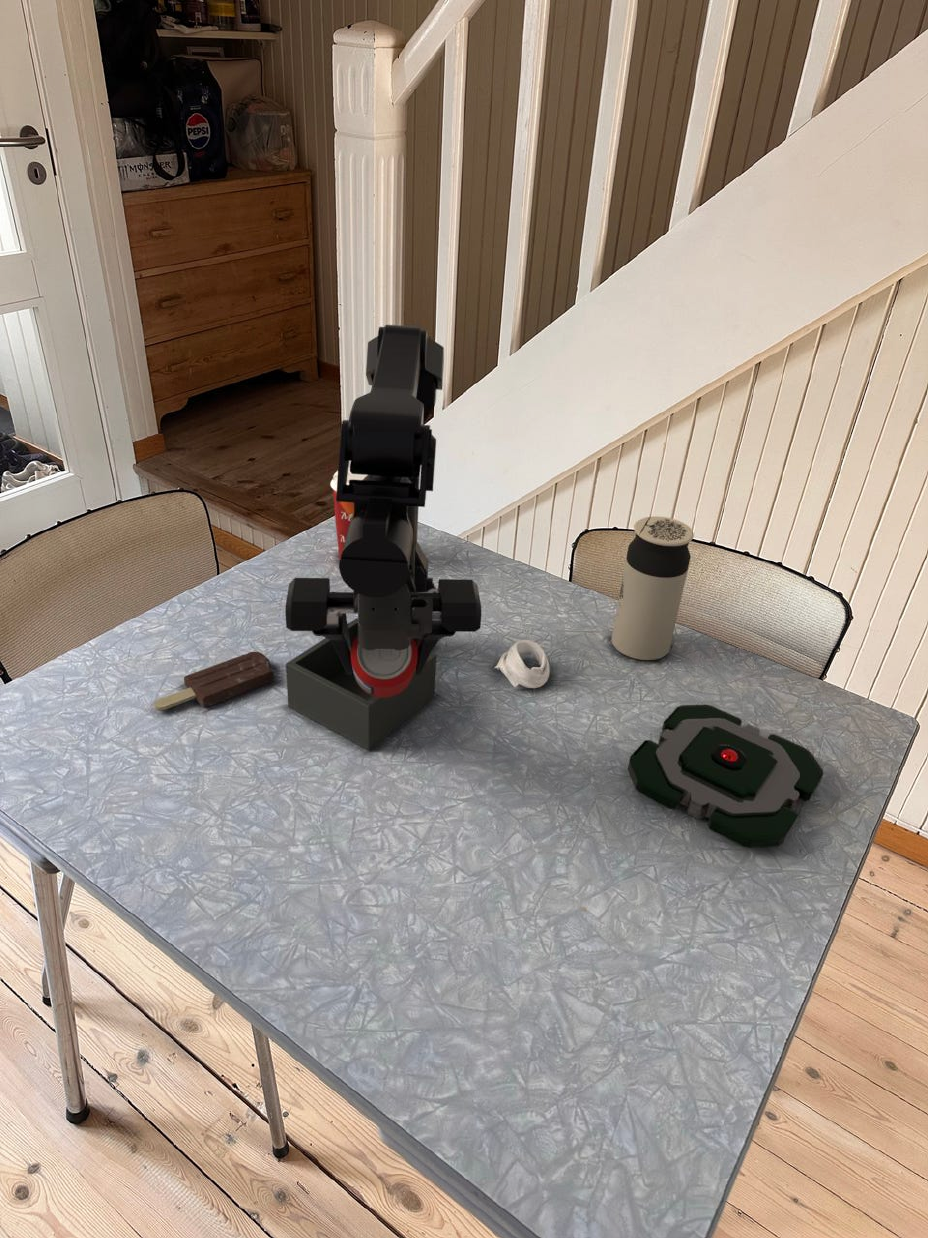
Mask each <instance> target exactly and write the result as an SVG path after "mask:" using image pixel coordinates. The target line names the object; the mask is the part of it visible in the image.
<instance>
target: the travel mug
mask: <svg viewBox="0 0 928 1238" xmlns="http://www.w3.org/2000/svg"><path fill="white" fill-rule="evenodd" d="M633 529H634V533H635V537H634V538H633V539H632V541H631V542H630V543H629V544H628V548H627V552H626V558H625V562H624V563H625V564H624V567H623V573H622V574H623V575H622V580H621V583H620V591H619V595H618V601H617V607H616V612H615V618H614V623H613V628H612V634H611V643H612V645H613V647H614V648H615V649H616V650H617V651H618V652H620V653H621V654H623V655H625V656H627V657H630V658H632V659H636V660H640V661H641V660H642V661H653V660H659V659H661V658H663V657H665V656H666V655H668V653H669V652H670V649H671V644H672V639H673V636H674V631H675V627H676V622H677V618H678V614H679V609H680V605H681V601H682V597H683V592H684V588H685V583H686V580H687V575H688V570H689V567H690V562H691V557H692V556H691V553H690V549H689V544H690V542H692V540H693V539H694V537H695V536H694V531H693V530H692V528H691V527H690V526H689V525H687V524H686V523H684V522H683V521H680V520H678V519H675V518H673V517H672V518H671V517H665V516H658V515H657V516H656V515H655V516H653V515H652V516H646V517H642V518H640V519H638V520H637V521H636V522H635V523H634V526H633Z"/></svg>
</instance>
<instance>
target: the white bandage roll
mask: <svg viewBox="0 0 928 1238" xmlns="http://www.w3.org/2000/svg"><path fill="white" fill-rule="evenodd" d="M528 656H533V657H534V658H535V659H536V661H537V663H538V664H539V667H537V666H533V667H531V668H529V667H527V665H526V664H525V662H524V661H523V659H524V658H526V657H528ZM497 670H498V671H499V670H500V671H501V673H502V674H503V675H504V676H505V677H506V679H507V680H508V681H509V682H510V684H511V685H512V686H513V687H514V688H516V687H518V686H519V685H521V686H522V687H524V688H528V689H537V688H540V687H542V686H544V685H545V684H547V682H548V680H549V677H550V673H551V672H550V671H551V670H550V662H549V659H548V657H547V655H546V652H545V651H544V649H543V647H541V646H540V645H539V643H536V642H535V641H532V640H529V639H522V640H518V641H516V642H515V643H513V645H511V646H510V648H509V649H508V651H506V652H504V653H502V655H501V656H500V659H499V661H498V662H497V664H496V665H495V667H493V668H492V672H493V673H495V672H496V671H497Z"/></svg>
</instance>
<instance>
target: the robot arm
mask: <svg viewBox="0 0 928 1238" xmlns="http://www.w3.org/2000/svg"><path fill="white" fill-rule="evenodd" d="M366 351H367V352H366V364H365V365H366V367H365V377H366V380H367V383H368V386H371V389H370V391H369V392H368V393H365V394H363V395H360V396H358V397H357V398H355V400H353V403H352V407H351V409H350V412H349V417H348V419H342V421H341V427H340V435H339V436H340V437H339V450H338V451H339V452H338V463H337V464H338V467H337V471H338V479H337V494H336V501H337V502H352V503H354V515H353V518H352V519H351V522H350V525H349V528H348V532H347V535H346V539H345V542H344V546H343V550H342V553H341V557H340V558H339V562H338V569H339V574H340V576H341V579H342V580H343V582H344V584H346V586H347V587H348V588H350V589H351V590H352V591H351V592H350V591H341V592H339V591H331V581H330V577H294V578H293V579H292V580H291V581H290V583H289V584H288V589H287V595H286V600H285V612H284V614H285V626H286V629H287V630H290V631H291V632H312V634H313V635H314V636H315V637H323V638H324V639H325V638H328V639H329V640H330V642H331V643H332V645H333V646H334V648H335V649H336V651H337V653H338V655H339V658H340V660H341V662H342V664H343V666H344V668H345V670H346V672H347V674H348V675H352V664H351V646H350V638H349V631H348V617H347V614H350V615H352V614H353V615H354V614H356V615H357V618H358V643H359V645H360V647H362V648H363V649H365V650H374V649H395V650H404V649H406V648H408V647H409V645H410V643H411V638H414V640H415V642H416V645H417V650H418V659H417V664H416V675H420V674H421V672H422V670H423V668H424V666H425V664H426V662H427V660H428V658H429V655H430V653H432V651H433V649H434V648H435V647H436V645H437V644H438V642H439V641H440V640H441V639H444V638H446V637H447V638H448V637H449V638H450V637H451V638H452V637H454V636H455V635H456V633H457V632H458V633H460V632H461V633H463V632H465V633H466V632H467V633H469V632H470V633H473V632H474V633H475V632H477V631H479V630H480V629H481V625H482V602H481V597H480V591H479V585H478V584H477V583H476V582H475V580H473V579H467V578H466V579H462V578H461V579H459V578H457V579H455V578H454V579H453V578H439V579H438V582H437V587H436V586H435V583H434V577H429V559H428V558H427V556H426V554H425V553H424V551H423V549H422V547H421V546H420V544H419V542H418V528H419V507H420V508H425V507H426V501H427V492H433V491H434V481H435V469H436V468H435V467H436V466H435V465H436V451H437V438H436V437H435V435H433V429H431V425H430V424H425V422H426V421H427V420H428V418H429V416H430V415H431V413H432V412H433V410H434V408H435V405H436V402H437V392H438V391H442V390H443V385H444V371H445V370H444V369H445V347H444V346H443V345H441V344H440V343H438V342H437V341H435V340H434V339H432V338H431V337H429V336H428V329H423V328H422V327H421V326H413V325H397V324H385V325H384V326H379V327H378V331H377V336H375V337H373V339H370V340H369V341H368V342H367V349H366ZM437 390H438V391H437ZM349 467H350V472H351V473H352V474H361V475H367V476H366V477H365V478H364V479H363V480H349V485H346V484H347V476H348V468H349Z"/></svg>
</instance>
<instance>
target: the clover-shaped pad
mask: <svg viewBox="0 0 928 1238" xmlns="http://www.w3.org/2000/svg"><path fill="white" fill-rule="evenodd" d="M742 723H743V721H742V719H741V718H740V717H738V716H736V715H734V714H731V713H730V712H727V711H725V710H722V709H720V708H718V707H716V706H714V705H712V704H711V705H710V704H682V705H679V706H676V707H675V709H674V710H673V711H672V712H671V713H670V714H669V716H667V717H666V719H664V721H663V724H662V728H661V732H660V733H659V737H658V742H655V741H653V740H650V739H645V740H644V741H643V742H642V743H641V744H640V745H639V746H638V747H637V748H636V750H634V752H633V753H632V754H631V755H630V756H629V760H628V764H627V771H628V774H629V776H630V778H631V781H632V783H633V786H634V788H635V790H636V791H638V793H640V794H641V795H642V796H645V797H647V798H649V799H651V800H653V801H655V802H656V803H658V804H660V805H662V806H664V807H665V808H667V809H670V810H676V809H677V808H678V806H679V805H683V806H685V807H686V813H687V815H689V816H691V817H693V818H694V819H696V820H700V819H701V820H702V819H703V818H708V821H707V827H708V829H709V830H711V831H713V832H714V833H716V834H718V835H720V836H722V837H724V838H726V839H728V840H730V841H731V842H733V843H735V844H737V845H739V846H741V847H744V848H747V849H755V848H771V847H773V848H774V847H780V846H782V845H784V843H785V841H786V840H787V838H788V837H789V835H790V833H791V832H792V830H793V828H794V826H795V825H796V823H797V820H798V818H799V813H798V812H797V811H796V810H795V809H796V806H797V803H798V801H799V799H800V800H802V801H804V802H810V800H811V799H812V797H813V796H814V794H815V792H816V791H817V789H818V787H819V786H820V785H821V782H822V780H823V777H824V769H823V768H822V767H821V765H820V763H818V761H817V759H816V758H815V756H814V755H813V753H812V752H811V750H809V749H808V748H806V747H805V746H802V745H799V744H798V743H795V742H794V741H791V740H789V739H787V738H785V737H782V736H780V735H778V734H775V733H769V735H768V737H765V736H763V735H761V734H760V733H761V732H760V731H761V730H760V728H758V727H756V726H753V725H752V724H746V725H745V726H742Z"/></svg>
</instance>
